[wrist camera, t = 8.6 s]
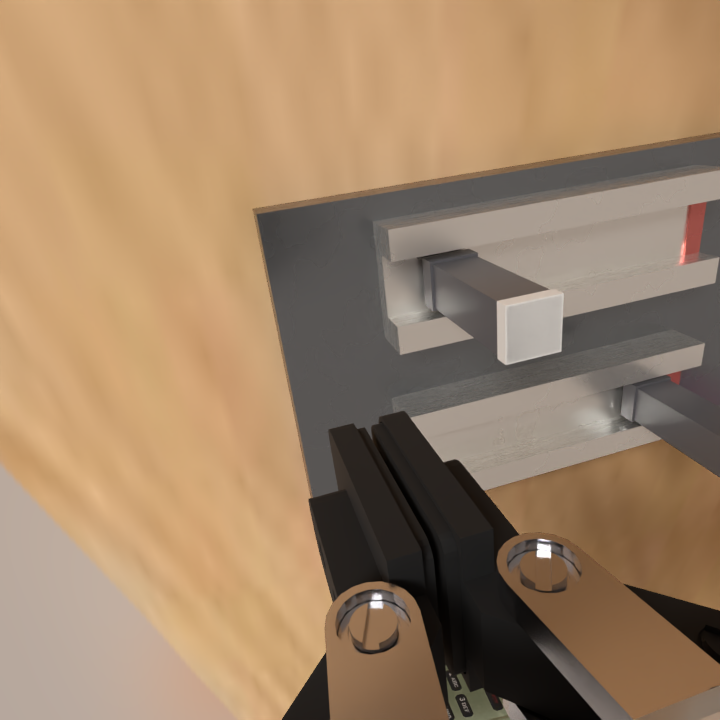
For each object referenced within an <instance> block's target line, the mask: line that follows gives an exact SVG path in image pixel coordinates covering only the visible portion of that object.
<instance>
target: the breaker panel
mask: <svg viewBox="0 0 720 720" xmlns="http://www.w3.org/2000/svg"><path fill="white" fill-rule="evenodd" d="M253 212H254V217H255V222H256V227H257V232H258V237H259V242H260V247H261V252H262V257H263V262H264V267H265V272H266V277H267V282H268V287H269V292H270V297H271V302H272V307H273V312H274V317H275V322H276V326H277V331H278V336H279V341H280V346H281V351H282V356H283V361H284V366H285V371H286V376H287V381H288V386H289V391H290V396H291V401H292V406H293V411H294V416H295V421H296V426H297V431H298V436H299V441H300V446H301V451H302V456H303V461H304V466H305V471H306V476H307V481H308V486H309V491H310V496H311V498H314V497H318V496H321V495H325V494H329V493H332V492H336V491H338V486H337V480H336V475H335V469H334V463H333V458H332V452H331V446H330V441H329V434H328V429H332V428H336V427H340V426H344V425H348V424H352V423H354V425H355V426H356V428H357V429H359V428H363V427H365V428H366V430H367V432H368V434H369V435H370V437H371V439H372V433H371V426H372V425H375V424H379V422H378V421H379V417H380V416H384V415H388V414H392V413H396V412H400V411H405V412H406V413H407V414H408V416H409V417H410V418H411V420H412V421H413V422H414V424H415V425H416V426H417V428H418V429H419V430H420V432H421V433H422V434H423V436H424V437H425V438H426V440H427V441H428V442H429V444H430V445H431V446H432V448H433V449H434V450H435V452H436V453H437V454H438V456H439V457H440V458H441V460H442V461H443V462H446V461H450V460H453V459H456V460H459V461H460V462H461V463H462V464H463V466H464V467H465V468H466V469H467V471H468V472H469V473H470V474H471V475H472V477H473V478H474V479H475V480H476V482H477V483H478V484H479V485H480V487H481V488H482V489H483V490H484V491H485V490H488V489H491V488H495V487H498V486H502V485H505V484H509V483H512V482H516V481H519V480H523V479H526V478H529V477H533V476H536V475H540V474H543V473H547V472H550V471H554V470H557V469H561V468H564V467H568V466H571V465H574V464H578V463H581V462H585V461H588V460H592V459H595V458H599V457H602V456H606V455H609V454H612V453H616V452H619V451H623V450H626V449H630V448H633V447H637V446H640V445H644V444H647V443H651V442H654V441H657V440H661V438H660V437H658V436H657V435H655V434H654V433H652V432H651V431H650V430H648V429H647V428H645V427H644V426H642V425H641V424H639V423H638V422H636V421H634V422H631V421H629V420H628V419H626V418H625V417H623V416H622V415H621V406H622V396H623V386H625V385H629V384H633V383H637V382H640V381H644V380H648V379H652V378H656V377H659V376H663V375H667V376H669V377H671V381H672V382H674V383H676V384H678V385H680V386H682V387H684V388H686V389H687V390H689V391H691V392H693V393H695V394H697V395H699V396H701V397H703V398H704V399H706V400H708V401H710V402H712V403H714V404H716V405H718V406H719V407H720V133H714V134H708V135H702V136H696V137H690V138H684V139H677V140H671V141H665V142H659V143H653V144H647V145H641V146H635V147H629V148H622V149H616V150H610V151H604V152H598V153H592V154H586V155H580V156H574V157H567V158H561V159H555V160H549V161H543V162H537V163H531V164H525V165H519V166H512V167H506V168H500V169H494V170H488V171H482V172H476V173H470V174H464V175H458V176H451V177H445V178H439V179H433V180H427V181H421V182H415V183H409V184H403V185H396V186H390V187H384V188H378V189H372V190H366V191H360V192H354V193H348V194H341V195H335V196H329V197H323V198H317V199H311V200H305V201H299V202H293V203H287V204H280V205H274V206H268V207H262V208H256V209H253ZM464 249H471V250H473V251H475V252H478V257H480V258H482V259H484V260H486V261H488V262H491V263H493V264H495V265H497V266H499V267H502V268H504V269H506V270H508V271H510V272H513V273H515V274H517V275H519V276H521V277H524V278H526V279H528V280H530V281H532V282H535V283H537V284H539V285H541V286H543V287H546V288H548V289H556V290H558V291H560V292H562V293H564V301H563V323H562V346H561V352H558V353H554V354H549V355H545V356H541V357H537V358H533V359H529V360H525V361H520V362H516V363H512V364H508V365H505V364H504V363H502V362H501V361H500V360H498V358H497V355H496V354H494V353H493V352H492V351H490V350H489V349H488V348H486V347H485V346H484V345H482V344H481V343H480V342H479V341H477V340H476V339H475V338H473V337H472V336H471V335H469V334H468V333H467V332H465V331H464V330H463V329H461V328H460V327H459V326H458V325H456V324H455V323H454V322H452V321H451V320H450V319H448V318H447V317H446V316H444V315H443V314H442V313H440V312H439V311H438V310H437V311H432V310H431V309H429V308H428V307H427V306H425V292H424V278H423V264H422V258H423V257H428V256H433V255H438V254H443V253H449V252H454V251H459V250H464ZM372 441H373V440H372Z"/></svg>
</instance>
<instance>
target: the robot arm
mask: <svg viewBox="0 0 720 720" xmlns="http://www.w3.org/2000/svg"><path fill="white" fill-rule="evenodd" d="M378 422H379V424H375V425H372V426H371V433H372V439H371V437H370V435H369V434H368V432H367V430H366V428H365V427H363V428H359V429H357V428H356V426H355V425H354V423H352V424H348V425H344V426H340V427H336V428H332V429H328V434H329V441H330V446H331V452H332V458H333V463H334V469H335V475H336V480H337V486H338V491H336V492H332V493H329V494H325V495H321V496H318V497H314V498H310V499H309V506H310V511H311V516H312V521H313V525H314V530H315V535H316V539H317V544H318V548H319V552H320V556H321V560H322V564H323V568H324V572H325V575H326V579H327V582H328V586H329V590H330V593H331V597H332V601H333V603H332V605H331V607H330V609H329V611H328V613H327V615H326V622H325V642H326V653H325V655H324V656H323V658H322V659H321V661H320V662H319V664H318V665H317V667H316V668H315V670H314V671H313V673H312V674H311V676H310V677H309V679H308V680H307V682H306V683H305V685H304V687H303V688H302V690H301V691H300V693H299V694H298V696H297V697H296V699H295V700H294V702H293V703H292V705H291V706H290V708H289V709H288V711H287V712H286V714H285V715H284V717H283V719H282V720H449V718H448V714H447V707H448V705H449V700H448V690H447V679H446V668H445V663H446V666H447V668H448V670H449V672H450V673H451V675H452V676H455V675H458V674H462V676H463V678H464V680H465V682H466V685H467V687H468V689H469V691H470V692H473V691H476V690H478V689H481V688H483V689H484V691H486V692H488V693H491V694H493V695H496V696H498V697H500V698H502V703H503V706H504V708H505V710H506V712H507V714H508V716H509V718H510V719H511V720H720V611H718V610H715V609H711V608H708V607H704V606H700V605H697V604H693V603H690V602H686V601H683V600H679V599H676V598H672V597H668V596H665V595H661V594H658V593H654V592H651V591H647V590H644V589H640V588H636V587H633V586H629V585H626V584H623V583H621V582H620V581H619V580H618V579H617V578H615V577H614V576H613V575H612V574H610V573H609V572H608V571H607V570H606V569H604V568H603V567H602V566H601V565H600V564H598V563H597V562H596V561H595V560H594V559H592V558H591V557H590V556H589V555H588V554H586V553H585V552H584V551H583V550H582V549H580V548H579V547H578V546H576V545H575V544H573V543H572V542H570V541H569V540H567V539H564V538H562V537H559V536H556V535H554V534H547V533H541V532H537V533H525V534H521V535H519V534H518V533H517V531H516V530H515V529H514V528H513V526H512V525H511V524H510V523H509V521H508V520H507V519H506V518H505V516H504V515H503V514H502V513H501V511H500V510H499V509H498V508H497V506H496V505H495V504H494V503H493V502H492V500H491V499H490V498H489V497H488V495H487V494H486V493H485V492H484V490H483V489H482V488H481V487H480V485H479V484H478V483H477V482H476V480H475V479H474V478H473V477H472V475H471V474H470V473H469V472H468V471H467V469H466V468H465V467H464V466H463V464H462V463H461V462H460V461H459V460H456V459H453V460H450V461H446V462H443V461H442V460H441V458H440V457H439V456H438V454H437V453H436V452H435V450H434V449H433V448H432V446H431V445H430V444H429V442H428V441H427V440H426V438H425V437H424V436H423V434H422V433H421V432H420V430H419V429H418V428H417V426H416V425H415V424H414V422H413V421H412V420H411V418H410V417H409V416H408V414H407V413H406V412H405V411H400V412H396V413H392V414H388V415H384V416H380V417H379V421H378ZM372 440H373V441H372Z"/></svg>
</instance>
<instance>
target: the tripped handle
mask: <svg viewBox="0 0 720 720" xmlns="http://www.w3.org/2000/svg"><path fill="white" fill-rule="evenodd" d="M422 264H423V278H424V292H425V306H427V307H428V308H429V309H431V310H432V311H437V310H438V311H439V312H440V313H442V314H443V315H444V316H446V317H447V318H448V319H450V320H451V321H452V322H454V323H455V324H456V325H458V326H459V327H460V328H461V329H463V330H464V331H465V332H467V333H468V334H469V335H471V336H472V337H473V338H475V339H476V340H477V341H479V342H480V343H481V344H482V345H484V346H485V347H486V348H488V349H489V350H490V351H492V352H493V353H494V354H496V355H497V358H498V360H500V361H501V362H502V363H504V364H505V365H508V364H512V363H516V362H520V361H525V360H529V359H533V358H537V357H541V356H545V355H549V354H554V353H558V352H561V346H562V323H563V301H564V293H562V292H560V291H558V290H556V289H548V288H546V287H543V286H541V285H539V284H537V283H535V282H532V281H530V280H528V279H526V278H524V277H521V276H519V275H517V274H515V273H513V272H510V271H508V270H506V269H504V268H502V267H499V266H497V265H495V264H493V263H491V262H488V261H486V260H484V259H482V258H480V257H478V252H475V251H473V250H471V249H464V250H459V251H454V252H449V253H443V254H438V255H433V256H428V257H423V258H422Z"/></svg>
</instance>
